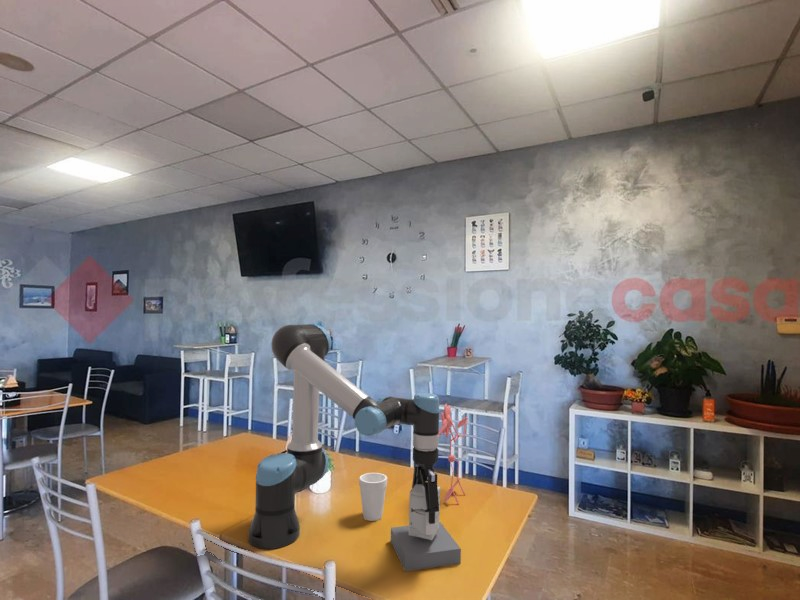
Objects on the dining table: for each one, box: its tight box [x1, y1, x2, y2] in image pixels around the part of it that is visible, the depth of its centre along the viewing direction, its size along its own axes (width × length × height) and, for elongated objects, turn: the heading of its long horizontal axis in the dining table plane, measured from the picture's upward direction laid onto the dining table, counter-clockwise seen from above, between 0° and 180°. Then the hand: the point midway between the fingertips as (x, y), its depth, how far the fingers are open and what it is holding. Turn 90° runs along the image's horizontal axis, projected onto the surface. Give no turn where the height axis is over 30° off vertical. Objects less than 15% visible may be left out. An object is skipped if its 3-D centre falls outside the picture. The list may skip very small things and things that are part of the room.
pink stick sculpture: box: [439, 403, 471, 505], centre depth 165 cm, size 15×26×35 cm, turn 157°
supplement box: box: [408, 484, 441, 540], centre depth 126 cm, size 7×7×13 cm
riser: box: [390, 521, 462, 572], centre depth 125 cm, size 16×16×4 cm
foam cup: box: [358, 472, 388, 522], centre depth 147 cm, size 10×9×13 cm
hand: (424, 524), depth 126 cm, fingers closed on supplement box, 10 cm apart
